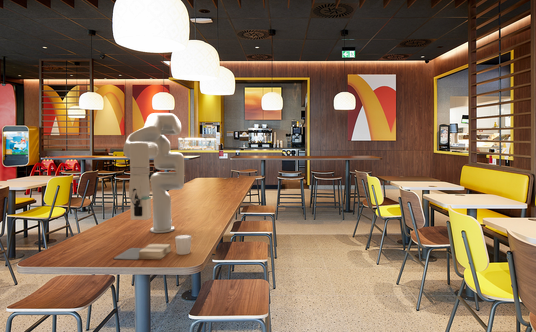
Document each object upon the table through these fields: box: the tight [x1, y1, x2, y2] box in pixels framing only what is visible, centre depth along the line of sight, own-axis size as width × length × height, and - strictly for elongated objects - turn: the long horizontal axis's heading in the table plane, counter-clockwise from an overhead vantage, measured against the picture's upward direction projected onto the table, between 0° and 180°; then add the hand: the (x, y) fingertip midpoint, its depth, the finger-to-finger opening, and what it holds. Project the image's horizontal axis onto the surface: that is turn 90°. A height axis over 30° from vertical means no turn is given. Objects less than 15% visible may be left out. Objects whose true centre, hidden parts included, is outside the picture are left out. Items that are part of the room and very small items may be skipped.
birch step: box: [138, 243, 172, 260], centre depth 142 cm, size 11×9×3 cm
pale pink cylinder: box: [174, 234, 192, 256], centre depth 145 cm, size 7×7×7 cm
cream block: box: [129, 196, 152, 221], centre depth 141 cm, size 4×7×9 cm, turn 85°
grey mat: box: [113, 247, 144, 261], centre depth 143 cm, size 14×10×1 cm
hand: (140, 214), depth 141 cm, fingers closed on cream block, 4 cm apart
